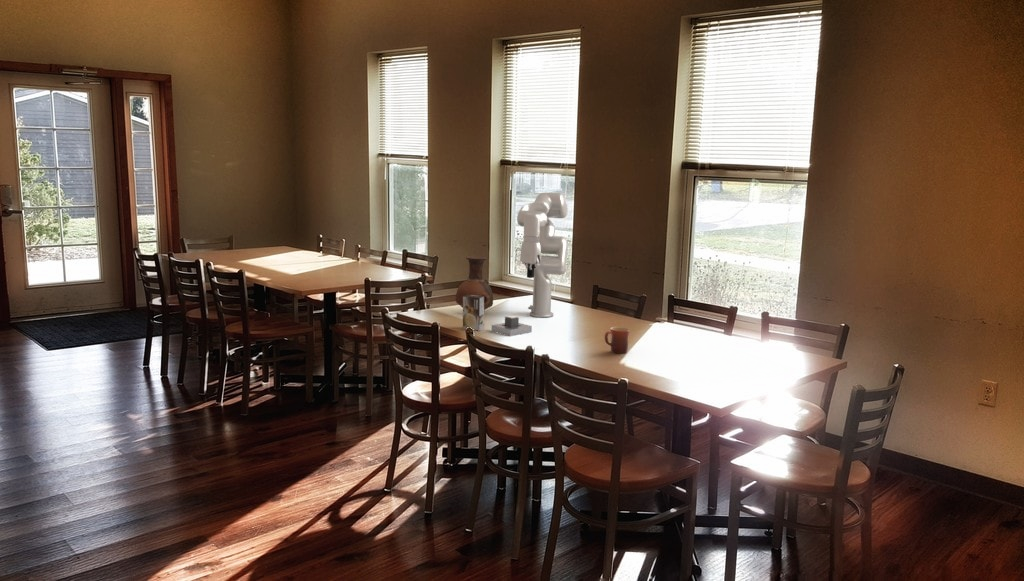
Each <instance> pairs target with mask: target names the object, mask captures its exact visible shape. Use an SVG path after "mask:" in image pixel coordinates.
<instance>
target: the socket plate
mask: <svg viewBox="0 0 1024 581" xmlns="http://www.w3.org/2000/svg"><path fill="white" fill-rule="evenodd" d="M532 329H533V328H532V325H530V324H525V323H521V322H519V324H518V327H513V328H510V327H506V326H505V322H503V323H502V322H501V323H497V324H495V323H494V324H491V332H493V331H494V333H496V332H498V333H497V334H500V333H501V335H504V334H505V336H509V337H513V336H518V335H525V334H529V333H532Z"/></svg>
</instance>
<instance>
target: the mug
mask: <svg viewBox="0 0 1024 581" xmlns="http://www.w3.org/2000/svg"><path fill="white" fill-rule="evenodd" d="M630 332H631V328H629V327H623V326H612V327H609V331H608V330H607V331H606V332H605V333H604V341H605V343H606V345H608V346H610V351H611V352H612V353H613V352H614V353H613V354H618V353H623V354H626V353H627V352H628V350H629V336H630ZM609 335H610V336H611V338H610V342H609V339H608V338H609Z"/></svg>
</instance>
